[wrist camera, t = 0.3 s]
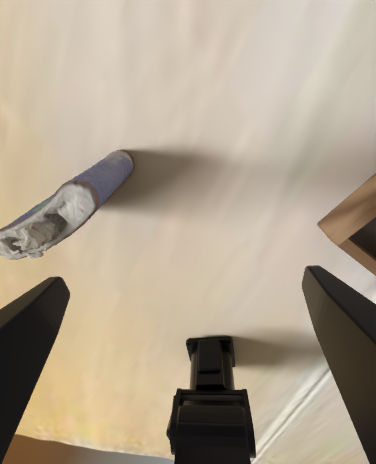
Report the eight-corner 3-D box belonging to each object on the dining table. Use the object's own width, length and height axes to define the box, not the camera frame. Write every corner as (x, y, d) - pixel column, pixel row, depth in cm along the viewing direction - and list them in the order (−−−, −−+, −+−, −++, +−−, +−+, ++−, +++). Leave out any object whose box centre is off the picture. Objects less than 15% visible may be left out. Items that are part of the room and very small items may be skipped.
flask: (123, 143, 21) (59, 186, 12) (143, 171, 22) (100, 230, 13) (52, 193, 24) (-43, 259, 15) (73, 216, 25) (-3, 290, 16)
